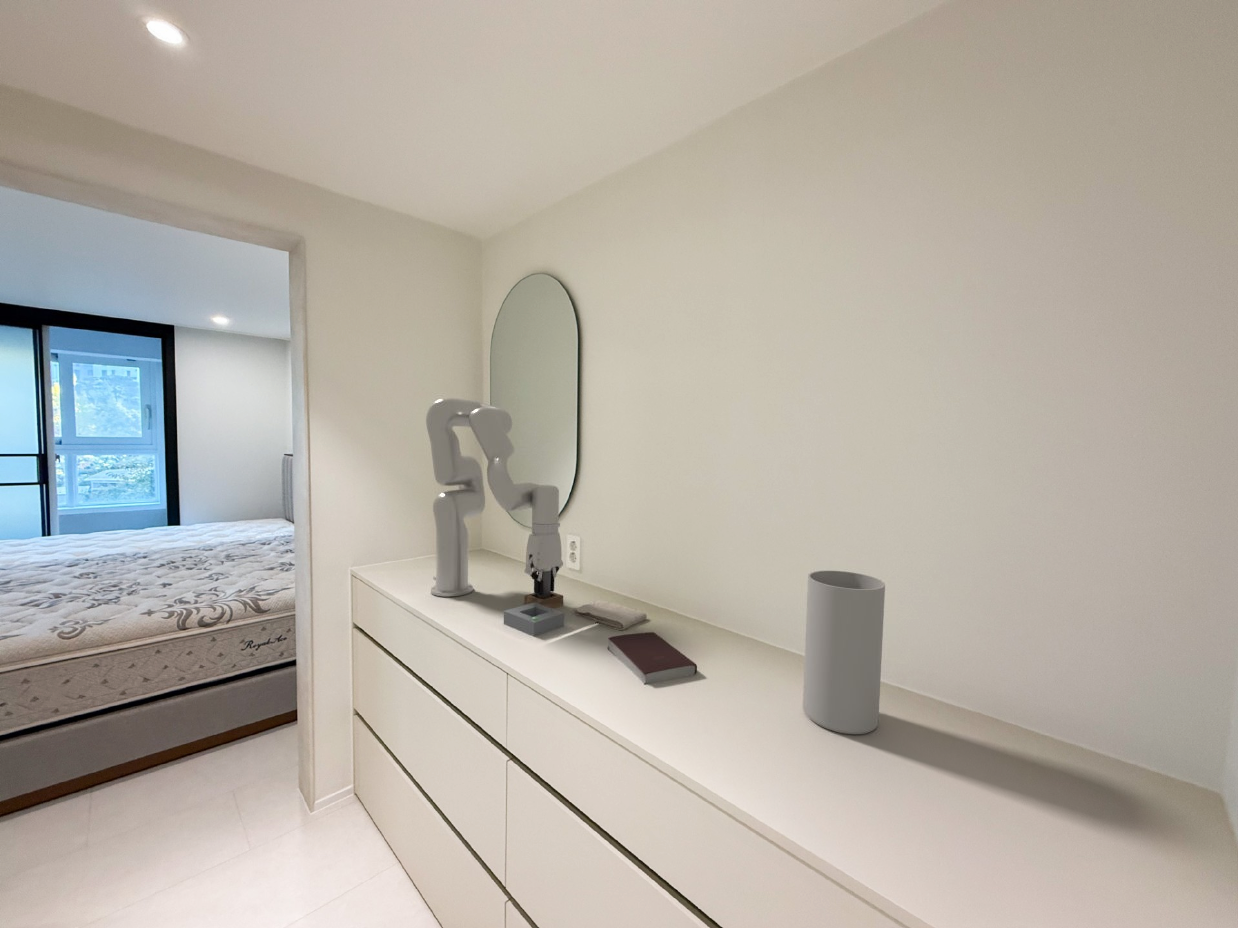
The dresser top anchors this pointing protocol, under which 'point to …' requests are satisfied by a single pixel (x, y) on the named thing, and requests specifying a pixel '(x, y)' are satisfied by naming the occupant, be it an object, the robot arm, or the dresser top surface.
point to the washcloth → (611, 614)
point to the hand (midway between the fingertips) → (544, 591)
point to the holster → (545, 600)
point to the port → (533, 619)
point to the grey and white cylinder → (546, 583)
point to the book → (650, 657)
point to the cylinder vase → (843, 650)
